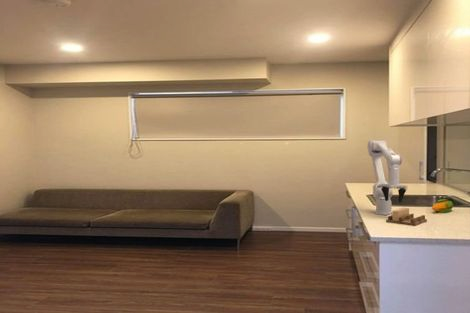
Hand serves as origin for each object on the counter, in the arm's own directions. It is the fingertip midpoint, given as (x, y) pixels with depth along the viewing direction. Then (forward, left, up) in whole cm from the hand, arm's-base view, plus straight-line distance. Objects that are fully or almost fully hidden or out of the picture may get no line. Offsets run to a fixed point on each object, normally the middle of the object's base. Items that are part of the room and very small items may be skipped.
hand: (393, 201), depth 238 cm
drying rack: (+4, +9, -9) cm, 14 cm away
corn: (-39, +12, -10) cm, 42 cm away
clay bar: (+4, +6, -8) cm, 11 cm away
